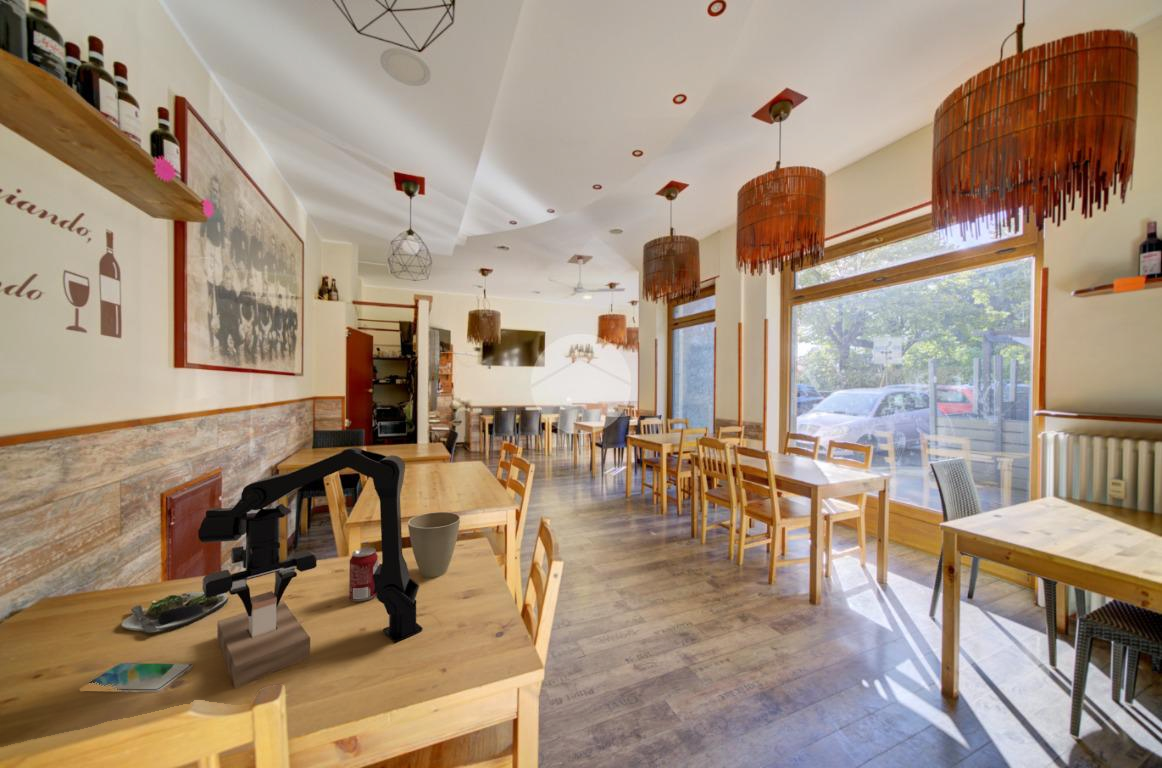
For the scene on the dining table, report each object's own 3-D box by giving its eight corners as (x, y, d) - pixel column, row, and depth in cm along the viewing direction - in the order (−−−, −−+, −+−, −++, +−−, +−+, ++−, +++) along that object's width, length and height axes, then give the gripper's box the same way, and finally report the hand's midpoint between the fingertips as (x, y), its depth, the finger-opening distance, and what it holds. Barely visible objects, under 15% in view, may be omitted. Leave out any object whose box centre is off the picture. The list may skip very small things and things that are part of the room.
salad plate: (90, 634, 94) (90, 613, 94) (177, 595, 112) (177, 577, 112) (161, 642, 91) (161, 621, 91) (239, 600, 109) (240, 583, 109)
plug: (276, 634, 89) (276, 597, 89) (252, 642, 86) (252, 604, 86) (271, 626, 91) (272, 590, 92) (248, 634, 88) (248, 597, 88)
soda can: (369, 603, 107) (370, 556, 107) (343, 603, 107) (344, 556, 107) (382, 590, 114) (383, 546, 114) (358, 590, 114) (358, 546, 114)
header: (310, 657, 86) (310, 637, 86) (234, 688, 77) (235, 666, 77) (282, 617, 100) (283, 600, 100) (217, 639, 92) (217, 621, 92)
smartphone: (158, 690, 76) (75, 689, 76) (158, 695, 76) (76, 694, 76) (195, 663, 83) (120, 662, 83) (195, 667, 83) (120, 666, 83)
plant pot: (395, 578, 121) (396, 523, 121) (432, 558, 135) (433, 509, 135) (435, 588, 115) (436, 530, 115) (470, 566, 129) (470, 515, 129)
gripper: (303, 519, 101) (302, 584, 101) (199, 540, 87) (198, 615, 87) (317, 530, 94) (317, 600, 93) (206, 555, 80) (205, 636, 80)
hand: (262, 611), depth 89 cm, fingers closed on plug, 4 cm apart
